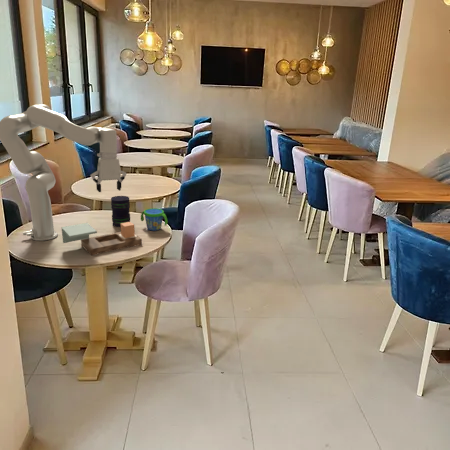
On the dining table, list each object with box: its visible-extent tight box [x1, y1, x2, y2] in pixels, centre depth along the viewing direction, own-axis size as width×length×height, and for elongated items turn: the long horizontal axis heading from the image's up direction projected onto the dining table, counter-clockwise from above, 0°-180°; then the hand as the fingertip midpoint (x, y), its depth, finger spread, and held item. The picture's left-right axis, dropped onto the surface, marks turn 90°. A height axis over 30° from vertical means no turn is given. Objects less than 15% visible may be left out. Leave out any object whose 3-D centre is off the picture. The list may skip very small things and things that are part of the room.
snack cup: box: [140, 207, 169, 232], centre depth 221 cm, size 16×10×10 cm
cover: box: [61, 222, 98, 244], centre depth 189 cm, size 12×13×8 cm
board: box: [80, 231, 143, 256], centre depth 199 cm, size 25×14×3 cm, turn 126°
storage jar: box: [110, 195, 131, 228], centre depth 225 cm, size 10×10×15 cm
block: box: [120, 221, 136, 238], centre depth 203 cm, size 5×5×6 cm
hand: (109, 190), depth 199 cm, fingers open, 9 cm apart
